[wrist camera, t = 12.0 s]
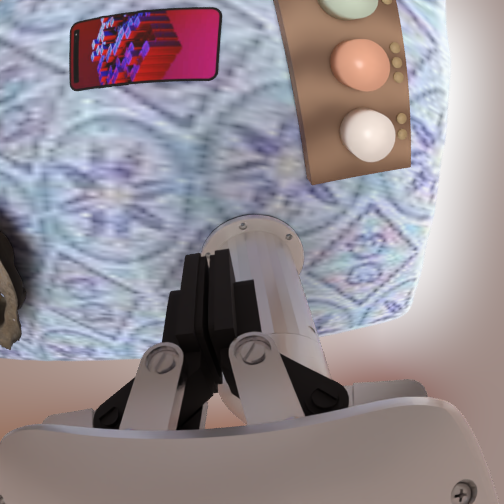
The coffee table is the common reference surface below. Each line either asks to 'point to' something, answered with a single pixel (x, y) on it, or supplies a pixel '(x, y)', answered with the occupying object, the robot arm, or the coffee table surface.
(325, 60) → the button board
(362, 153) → the off-white button
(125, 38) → the smartphone
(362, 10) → the sage button
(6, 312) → the stone bowl
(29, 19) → the coffee table surface
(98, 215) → the coffee table surface
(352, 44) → the terracotta button
